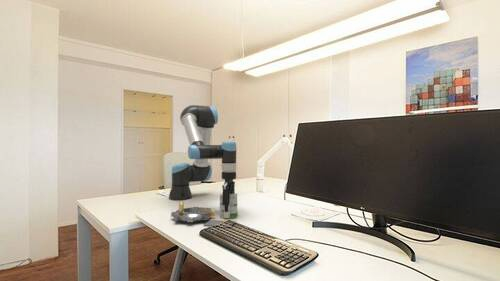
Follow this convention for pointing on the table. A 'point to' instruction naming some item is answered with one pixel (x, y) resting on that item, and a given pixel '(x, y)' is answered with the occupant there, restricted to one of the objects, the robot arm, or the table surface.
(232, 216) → the ink box
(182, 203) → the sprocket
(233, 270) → the table surface
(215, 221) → the pad
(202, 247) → the table surface
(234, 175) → the robot arm
